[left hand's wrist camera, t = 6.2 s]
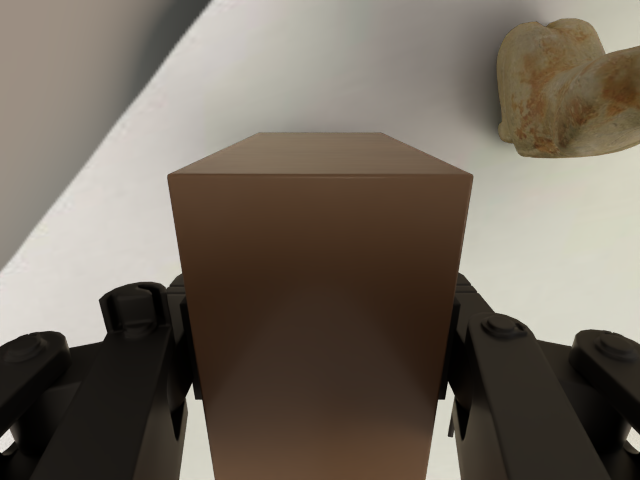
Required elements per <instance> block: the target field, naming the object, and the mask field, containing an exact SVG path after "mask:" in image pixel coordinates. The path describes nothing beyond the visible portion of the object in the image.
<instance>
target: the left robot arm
mask: <svg viewBox="0 0 640 480" xmlns="http://www.w3.org/2000/svg"><path fill="white" fill-rule="evenodd" d="M99 303H100V307H101V311H102V314H103V318H104V322H105V326H106V330H107V335H106V337H105V339H104V340H103V341H102V342H98V343H93V344H88V345H83V346H77V347H72V348H69V347H68V344H67V341H66V338H65V336H64V335H63V334H61V333H60V332H53V331H45V332H34V333H30V334H29V335H28V334H26V335H23V336H20V337H18V338H17V339H14V340H12V341H10V342H7V343H6V344H4V345H2V346H1V347H0V438H1V437H2V435H3V434H4V433H5V432H6V431H7V430H8V429H9V428H10V431H11V433H12V435H13V438H14V440H15V441H14V442H13V444H12V445H11V446H10V447H9V448H8V449H6V450H5V451H4V452H3V453H0V480H179V476H180V469H181V461H182V454H183V446H184V439H185V431H186V424H187V416H188V410H187V403H186V395H187V393H188V391H189V389H190V386H191V384H192V383H193V389H194V395H195V400H202V395H201V388H200V382H199V375H198V369H197V363H196V356H195V350H194V344H193V337H192V331H191V325H190V318H189V312H188V306H187V299H186V293H185V287H184V280H183V274H180V275H179V276H177V277H176V278H175V279H174V281H173V282H172V283H171V284H170V287H168V288H167V289H166V287H164V286H163V285H162V284H160V283H155V282H138V283H132V284H127V285H124V286H121V287H118V288H115V289H113V290H112V291H110V292H108V293H106V294H105V295H104V296H103V297H101V298H100V299H99ZM448 382H449V384H450V386H451V388H452V390H453V393H454V395H455V397H454V403H453V409H452V414H451V420H450V425H449V431H448V437H453V433H454V430H455V438H456V445H457V453H458V460H459V468H460V475H461V480H640V452H638V451H637V450H636V449H635V448H634V447H633V446H632V445H631V444H630V443H629V442H628V441H627V440H626V439H627V436H628V434H629V432H630V429H631V427H633V428H634V429H635V430H636V431H637V432H638V433H639V434H640V344H638V343H637V342H635V341H633V340H631V339H628V338H626V337H624V336H622V335H620V334H617V333H614V332H613V333H611V332H610V331H605V330H592V329H590V330H583V331H580V332H579V333H577V334H576V336H575V339H574V342H573V345H572V346H566V345H561V344H556V343H550V342H545V341H541V340H537V339H536V338H535V336H534V334H533V332H532V331H531V330H530V329H529V328H528V327H527V326H526V325H525V324H523V323H522V322H520V321H519V320H517V319H514V318H512V317H509V316H507V315H503V314H499V313H495V312H494V311H493V310H492V309H491V307H490V306H489V305H488V304H487V303H486V301H485V300H484V299H483V298H482V297H481V295H480V294H479V293H477V291H476V289H475V288H474V287H473V286H471V284H470V282H469V281H468V280H467V279H466V278H465V276H464V275H462V274H460V273H459V272H458V277H457V283H456V290H455V296H454V302H453V309H452V315H451V321H450V328H449V334H448V340H447V347H446V353H445V359H444V365H443V372H442V378H441V384H440V391H439V397H438V400H445V396H446V390H447V384H448Z"/></svg>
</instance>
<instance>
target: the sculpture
mask: <svg viewBox="0 0 640 480" xmlns="http://www.w3.org/2000/svg"><path fill="white" fill-rule="evenodd" d="M497 82H498V93H499V100H500V105H501V113H502V122H501V123H500V124H499V126H498V132H499V136H500V138H501V140H503V141H504V142H508V143H514V145H515V148H516V150H517V152H518V154H520V155H521V156H523V157H533V158H573V157H587V156H598V155H603V154H609V153H614V152H618V151H622V150H625V149H628V148H631V147H633V146H636V145H638V144H640V46H637V47H633V48H629V49H624V50H619V51H615V52H612V53H608V54H605V51H604V49H603V46H602V44H601V42H600V39H599V37H598V34H597V32H596V31H595V29H594V28H593V26H592V25H590V24H589V23H588V22H585V21H583V20H579V19H568V18H567V19H560V20H557V21H555V22H552V23H550V24H548V25H547V26H546V27H545V26H543V25H541V24H539V23H538V22H529V23H522V24H520V25H518V26H517V27H515V28H514V29H512V30H511V31H510V32H509V33H508V34H507V35H506V37H505V38H504V40H503V42H502V44H501V47H500V49H499V52H498V57H497Z"/></svg>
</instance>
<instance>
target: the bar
mask: <svg viewBox="0 0 640 480" xmlns="http://www.w3.org/2000/svg"><path fill="white" fill-rule="evenodd" d="M167 179H168V185H169V192H170V198H171V204H172V211H173V217H174V223H175V230H176V236H177V242H178V249H179V255H180V261H181V268H182V274H183V280H184V287H185V293H186V299H187V306H188V312H189V318H190V325H191V331H192V337H193V344H194V350H195V356H196V363H197V369H198V375H199V382H200V388H201V395H202V401H203V407H204V414H205V420H206V426H207V433H208V439H209V445H210V452H211V458H212V464H213V471H214V477H215V480H425V479H426V473H427V466H428V460H429V454H430V447H431V441H432V435H433V428H434V422H435V416H436V410H437V403H438V397H439V391H440V384H441V378H442V372H443V365H444V359H445V353H446V347H447V340H448V334H449V328H450V321H451V315H452V309H453V302H454V296H455V290H456V283H457V277H458V271H459V265H460V258H461V252H462V246H463V239H464V233H465V227H466V220H467V214H468V208H469V202H470V195H471V189H472V183H473V175H472V174H470V173H468V172H466V171H463V170H461V169H459V168H457V167H455V166H453V165H450V164H448V163H446V162H444V161H442V160H440V159H437V158H435V157H433V156H431V155H429V154H426V153H424V152H422V151H420V150H418V149H416V148H413V147H411V146H409V145H407V144H405V143H403V142H400V141H398V140H396V139H394V138H392V137H390V136H387V135H385V134H383V133H257V134H255V135H253V136H251V137H249V138H246V139H244V140H242V141H240V142H238V143H236V144H233V145H231V146H229V147H227V148H225V149H223V150H220V151H218V152H216V153H214V154H212V155H210V156H207V157H205V158H203V159H201V160H199V161H197V162H194V163H192V164H190V165H188V166H186V167H184V168H181V169H179V170H177V171H175V172H173V173H171V174H168V176H167Z"/></svg>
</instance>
